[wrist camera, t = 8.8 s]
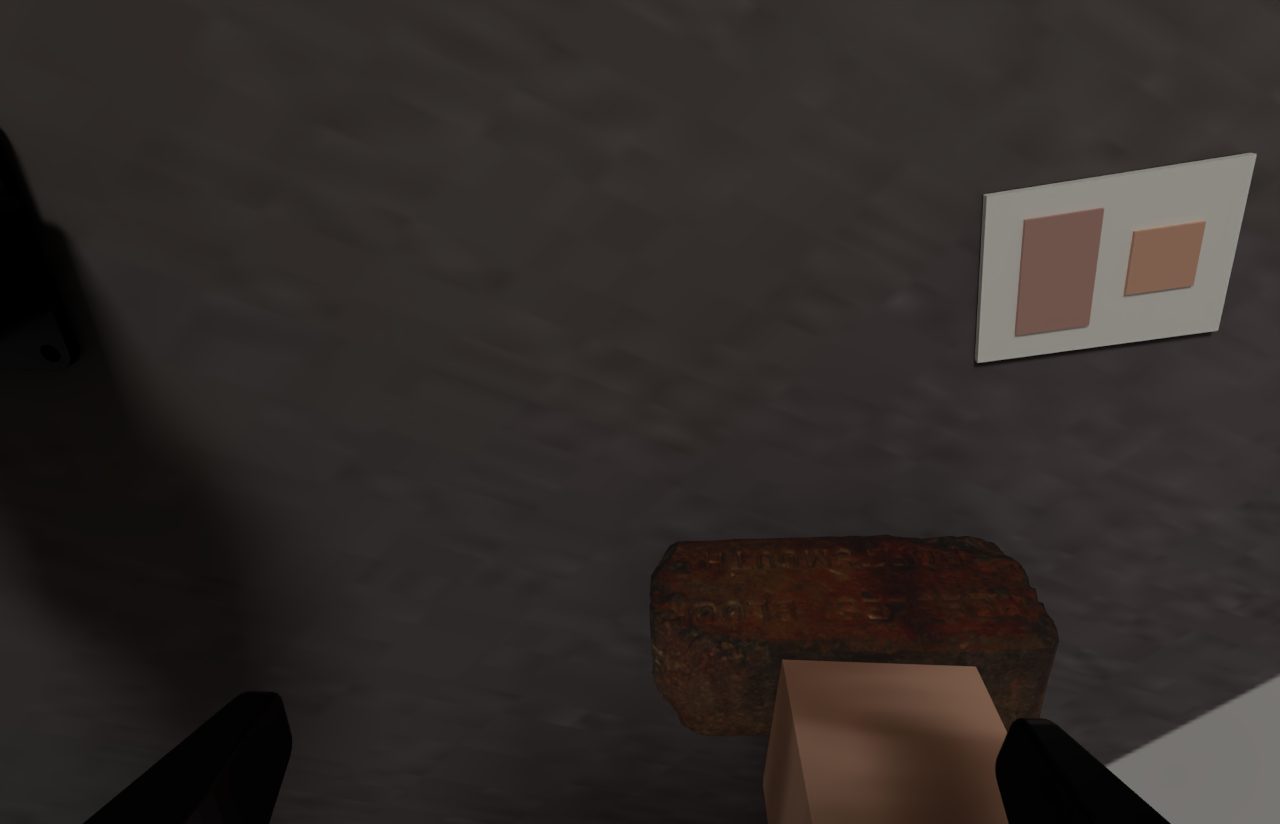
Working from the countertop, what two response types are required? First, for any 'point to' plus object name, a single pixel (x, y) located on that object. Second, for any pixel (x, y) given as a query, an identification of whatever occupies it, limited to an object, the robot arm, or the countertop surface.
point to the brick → (839, 620)
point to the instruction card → (1109, 258)
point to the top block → (882, 745)
